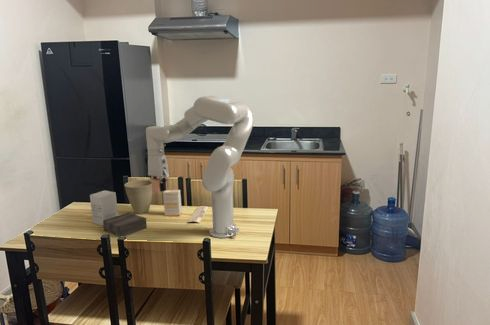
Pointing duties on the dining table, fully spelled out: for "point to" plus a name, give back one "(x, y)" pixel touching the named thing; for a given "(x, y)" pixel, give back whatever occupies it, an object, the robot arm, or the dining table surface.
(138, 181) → the plant pot
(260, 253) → the dining table surface
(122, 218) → the black plinth
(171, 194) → the supplement box
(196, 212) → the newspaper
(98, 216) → the supplement box
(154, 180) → the terracotta block
